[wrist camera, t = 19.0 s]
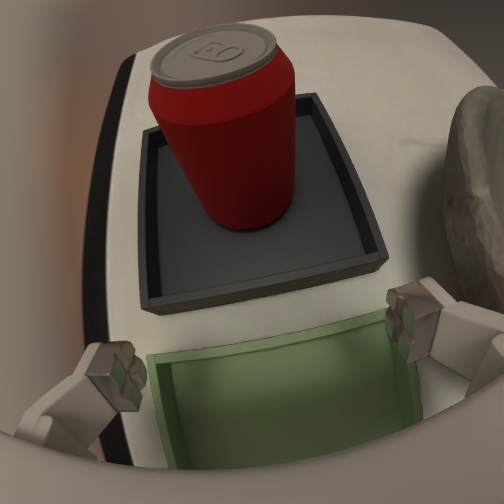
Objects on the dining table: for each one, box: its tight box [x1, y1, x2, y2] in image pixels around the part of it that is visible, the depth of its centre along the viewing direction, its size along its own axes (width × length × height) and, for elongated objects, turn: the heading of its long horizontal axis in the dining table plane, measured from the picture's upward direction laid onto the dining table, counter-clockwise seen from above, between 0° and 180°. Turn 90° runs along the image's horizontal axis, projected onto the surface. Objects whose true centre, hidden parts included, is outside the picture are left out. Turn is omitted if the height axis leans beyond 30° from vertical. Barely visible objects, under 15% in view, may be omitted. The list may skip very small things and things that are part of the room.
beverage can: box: [148, 23, 296, 229], centre depth 15 cm, size 7×7×12 cm
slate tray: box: [138, 93, 389, 315], centre depth 20 cm, size 15×15×3 cm
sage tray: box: [146, 308, 423, 470], centre depth 13 cm, size 15×15×3 cm
